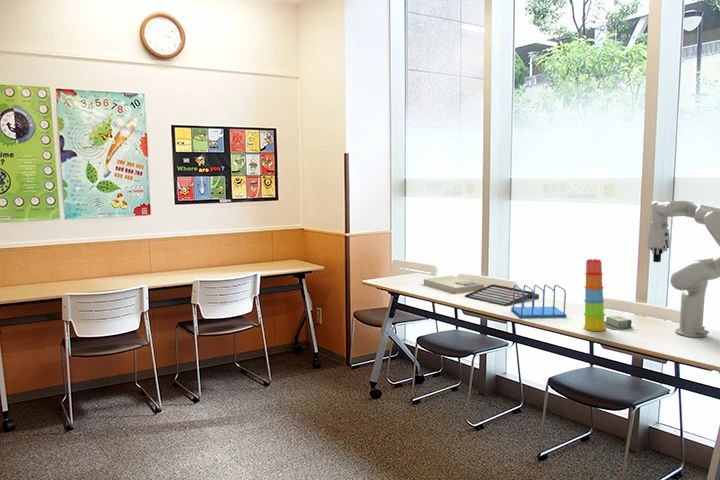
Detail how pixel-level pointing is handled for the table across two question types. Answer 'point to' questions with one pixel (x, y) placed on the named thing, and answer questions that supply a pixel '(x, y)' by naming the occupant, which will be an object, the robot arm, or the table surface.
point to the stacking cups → (594, 296)
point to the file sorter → (538, 311)
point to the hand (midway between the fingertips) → (656, 261)
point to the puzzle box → (453, 284)
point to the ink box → (618, 322)
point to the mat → (611, 327)
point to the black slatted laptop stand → (500, 295)
